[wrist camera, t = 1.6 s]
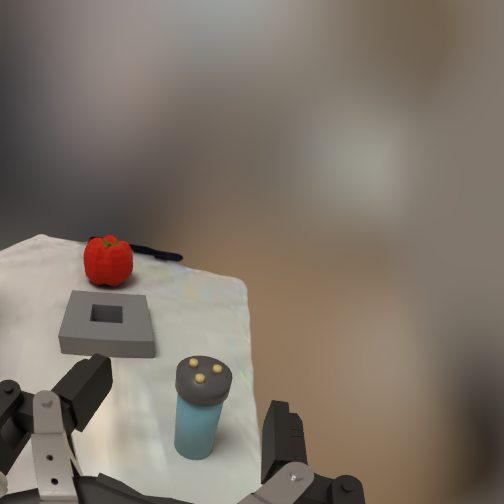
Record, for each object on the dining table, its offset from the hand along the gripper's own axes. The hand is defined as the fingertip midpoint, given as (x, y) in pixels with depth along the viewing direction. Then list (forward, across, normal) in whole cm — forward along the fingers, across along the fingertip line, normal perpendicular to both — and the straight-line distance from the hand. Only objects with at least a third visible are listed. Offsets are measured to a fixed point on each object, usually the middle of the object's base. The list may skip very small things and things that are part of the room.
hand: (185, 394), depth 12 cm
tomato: (+49, +32, +20) cm, 61 cm away
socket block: (+30, +21, +20) cm, 41 cm away
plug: (+11, 0, +20) cm, 23 cm away
